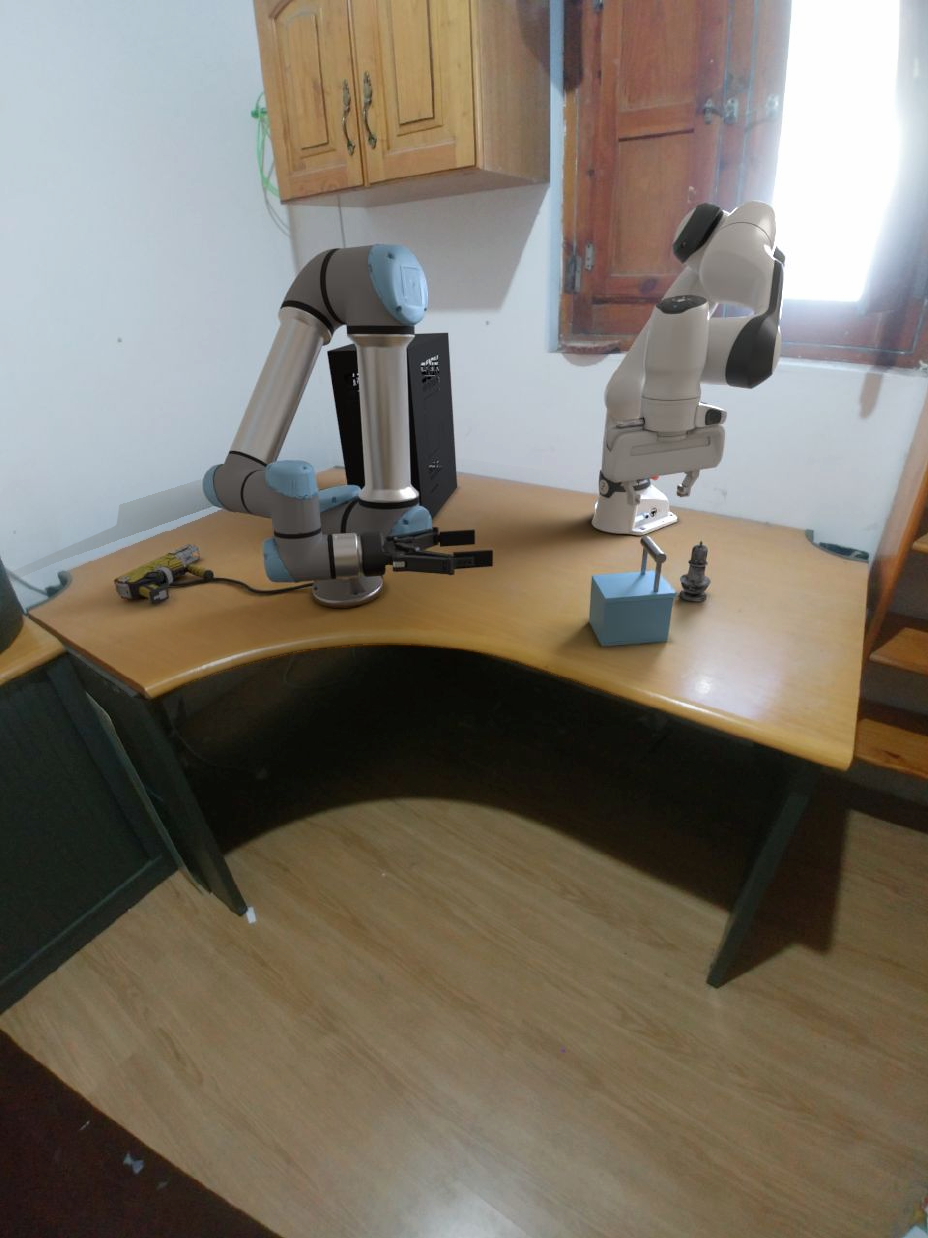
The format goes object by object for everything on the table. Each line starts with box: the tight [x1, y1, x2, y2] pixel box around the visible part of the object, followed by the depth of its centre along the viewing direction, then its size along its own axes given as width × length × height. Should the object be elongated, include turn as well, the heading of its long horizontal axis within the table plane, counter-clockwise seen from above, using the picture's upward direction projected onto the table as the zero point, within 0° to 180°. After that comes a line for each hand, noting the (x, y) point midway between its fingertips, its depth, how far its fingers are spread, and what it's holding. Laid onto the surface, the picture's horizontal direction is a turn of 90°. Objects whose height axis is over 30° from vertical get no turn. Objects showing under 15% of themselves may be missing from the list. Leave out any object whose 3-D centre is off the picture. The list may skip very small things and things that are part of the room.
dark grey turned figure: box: [678, 540, 712, 603], centre depth 120 cm, size 6×6×12 cm
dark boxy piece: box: [326, 332, 458, 521], centre depth 169 cm, size 38×20×45 cm, turn 167°
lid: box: [591, 535, 677, 603], centre depth 107 cm, size 12×9×8 cm
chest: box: [588, 579, 674, 648], centre depth 111 cm, size 12×9×9 cm
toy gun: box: [113, 543, 215, 606], centre depth 141 cm, size 5×24×15 cm
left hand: (483, 546), depth 105 cm, fingers open, 13 cm apart
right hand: (658, 500), depth 101 cm, fingers open, 8 cm apart
